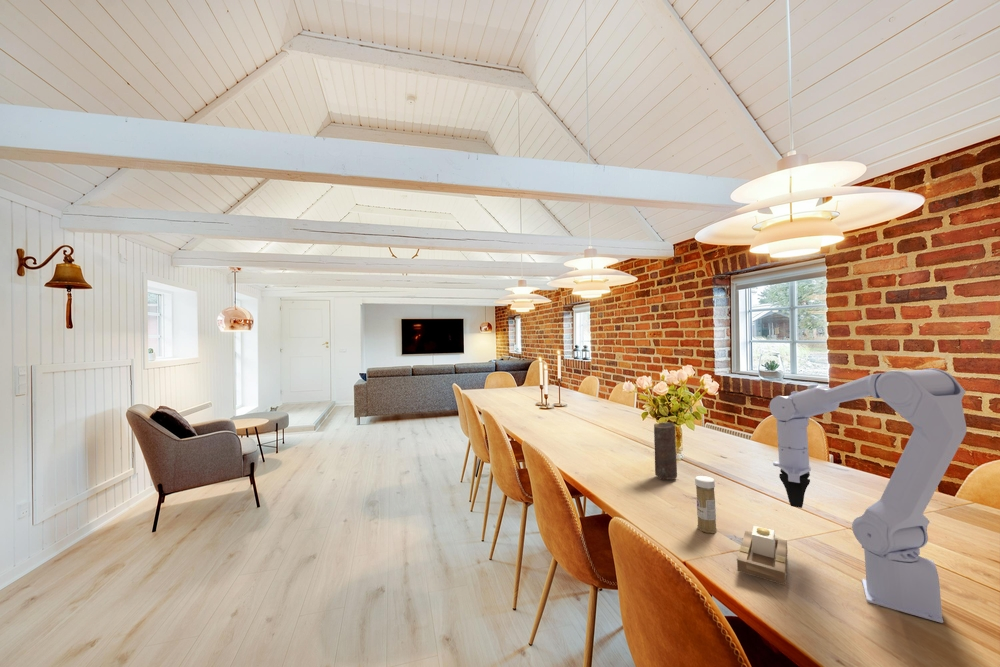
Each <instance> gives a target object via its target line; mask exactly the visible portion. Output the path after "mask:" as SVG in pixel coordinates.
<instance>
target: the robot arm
mask: <svg viewBox="0 0 1000 667" xmlns="http://www.w3.org/2000/svg"><path fill="white" fill-rule="evenodd" d="M807 388H808V389H805V390H801V391H798V390H795V391H794V390H793V391H791V392H790V394H789V395H784V396H783V395H776V396H775V397H773V398H772V399H771V400H770V402H769V411H770V413H771V414H772V416H773V417H774V418H775V419H776V434H777V435H776V436H777V450H778V461H776V460H775V461H774V460H773V462H772V466H774V467H778V468H779V469H780V470H779V472H780V473H779V476H778V477H779V480H780V481H781V482H782V485H783V486H784V488H785V492H786V494H787V498H788V502H789V505H790V507H795V508H798V509H799V508H800V509H803V505H804V499H805V493H806V491H807V488H808V486H809V485H810V483H811V479H810V478H809V477H810V475H811V474H810V472H811V469H812V467H811V466H810V455H809V441H808V426H809V425H810V424H809V423H810V422H809V420H810V418H811V417H814V416H818V415H823V414H827V413H830V412H834V411H837V410H838V409H839V406H840V403H844V402H849V401H855V400H859V399H864V398H869V397H872V398H873V399H876V400H878V399H881V400H882V401H883V402H884V403H886V404H887V406H888V407H890V408H891V409H893V411H895V412H896V413H897V414H898V415H900V416H901V417H902V418H903V419H904V420H905V421H907V422H908V423H909V424H910V425H911V426H912V427H913V430H912V433H911V435H910V436H909V439H908V441H907V443H906V445H905V447H904V449H903V451H902V453H901V455H900V457H899V459H898V461H897V464H896V466H895V468H894V470H893V472H892V474H891V476H890V478H889V480H888V482H887V485H886V487H885V489H884V491H883V493H882V495H881V497H880V498H879V499H878V500H877V501H876V502H874V503H873V504H871V505H870V506H868V507H867V508H866V509H865V511H864V513H863V514H862V515H860V516H857V517H856V518H855V519H853V521H852V523H851V528H852V533H853V535H854V537H855V539H856V540H857V542H858V543H859V544H860V545H861V548H862V549H863V552H864V554H863V555H864V565H865V566H864V567H865V578H861V582H862V586H863V591H864V595H865V599H866V602H868V603H870V604H875V605H878V606H880V607H884V608H888V609H891V610H895V611H898V612H901V613H906V614H909V615H911V616H916V617H919V618H922V619H926V620H929V621H933V622H938V623H940V624H943V623H944V620H943V613H942V612H943V611H942V600H941V599H942V597H941V596H942V595H941V586H940V579H939V573H938V569H937V566H936V564H935V562H934V561H933V559H928V558H925V557H923V556H920V554H921V551H920V549H921V548H924V547H925V546H926V545H927V544H928V542H929V535H928V526H929V524H930V520H929V519H928V518H927V517H926V515H925V514H924V512H925V511H926V509H927V507H928V505H929V503H930V501H931V499H932V498H933V496H934V494H935V492H936V490H937V488H938V486H939V484H940V483H941V481H942V479H943V477H944V475H945V473H946V471H947V470H948V467H949V466H950V464H951V462H952V461H953V459H954V457H955V455H956V453H957V452H958V449H959V448H960V445H961V444H962V442H963V440H964V438H965V436H967V431H968V430H967V423H966V418H965V413H964V407H963V402H962V400H963V398H964V396H965V394H966V390H965V389H964V388H963V386H962V385H961V384H960V383H959V381H958V380H957V379H956V378H955V377H954V376H953V375H952V374H950V372H949V373H948V372H947V371H945V370H943V369H940V368H934V367H933V368H932V367H930V368H924V369H913V370H912V369H910V370H888V371H885V372H883V373H882V372H880V373H873V374H869V375H866V376H863V377H860V378H858V379H855V380H851V381H849V382H846V383H843V384H840V385H837V386H835V387H829V386H826V385H823V384H822V385H819V384H810V385H808V386H807Z"/></svg>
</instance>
